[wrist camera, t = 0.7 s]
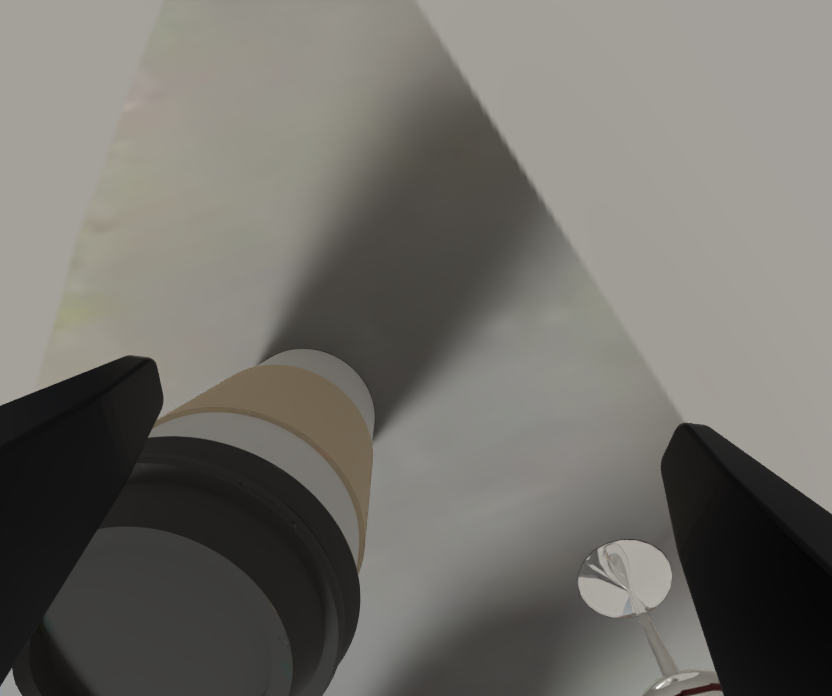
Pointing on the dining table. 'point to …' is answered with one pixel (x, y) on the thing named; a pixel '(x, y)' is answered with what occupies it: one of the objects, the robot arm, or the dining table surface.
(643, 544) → the wineglass
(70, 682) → the coffee cup
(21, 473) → the robot arm
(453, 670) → the dining table surface
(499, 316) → the dining table surface
